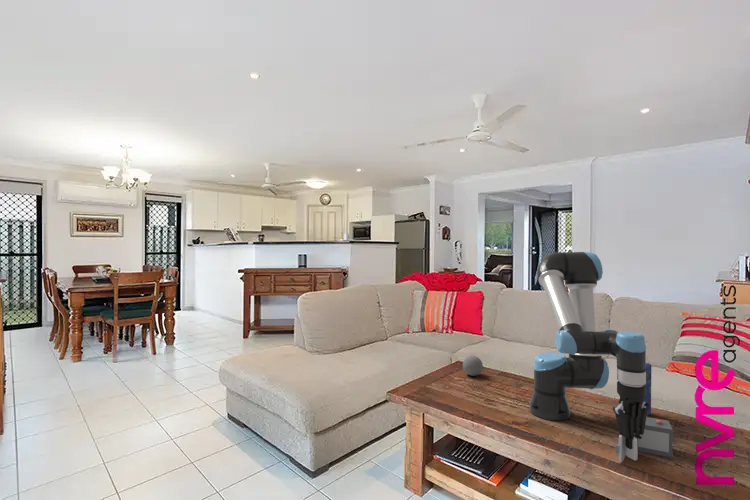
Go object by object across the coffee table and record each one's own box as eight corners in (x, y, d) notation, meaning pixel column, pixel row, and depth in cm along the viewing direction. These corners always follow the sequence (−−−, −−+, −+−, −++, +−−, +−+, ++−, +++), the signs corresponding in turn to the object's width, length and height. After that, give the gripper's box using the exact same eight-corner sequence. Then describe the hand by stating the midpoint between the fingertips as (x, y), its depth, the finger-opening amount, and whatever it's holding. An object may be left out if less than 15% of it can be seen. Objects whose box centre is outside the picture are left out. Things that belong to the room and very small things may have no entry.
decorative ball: (463, 378, 199) (463, 358, 199) (462, 371, 209) (462, 352, 209) (483, 379, 198) (483, 359, 197) (481, 372, 208) (481, 353, 207)
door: (624, 446, 132) (624, 422, 132) (630, 448, 131) (630, 424, 131) (615, 461, 123) (615, 435, 123) (621, 463, 122) (622, 437, 122)
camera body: (621, 447, 132) (621, 418, 132) (619, 438, 139) (619, 410, 138) (672, 457, 126) (672, 427, 126) (668, 447, 132) (668, 418, 132)
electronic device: (643, 420, 151) (643, 369, 151) (628, 416, 155) (628, 365, 155) (652, 414, 157) (652, 364, 157) (637, 409, 161) (637, 360, 161)
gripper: (635, 376, 128) (635, 447, 129) (604, 381, 124) (605, 455, 125) (658, 383, 121) (658, 459, 122) (626, 390, 117) (627, 468, 118)
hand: (631, 457), depth 123 cm, fingers closed
